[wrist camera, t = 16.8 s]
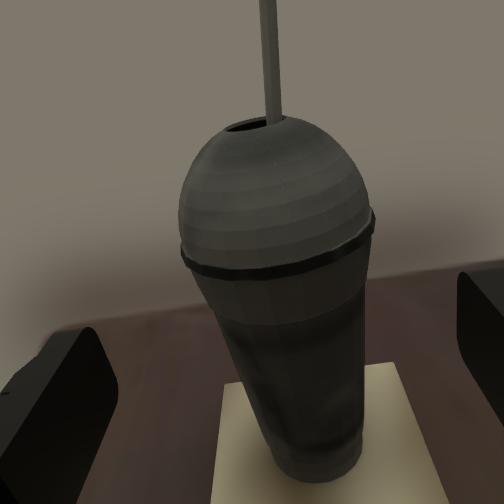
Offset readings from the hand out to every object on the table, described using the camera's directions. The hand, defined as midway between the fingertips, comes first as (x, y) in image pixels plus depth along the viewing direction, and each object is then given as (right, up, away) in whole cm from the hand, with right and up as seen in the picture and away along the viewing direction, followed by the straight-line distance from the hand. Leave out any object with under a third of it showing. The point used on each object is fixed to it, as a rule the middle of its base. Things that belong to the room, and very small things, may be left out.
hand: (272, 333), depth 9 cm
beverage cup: (+3, -8, +12) cm, 14 cm away
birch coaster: (+3, -8, +12) cm, 15 cm away
